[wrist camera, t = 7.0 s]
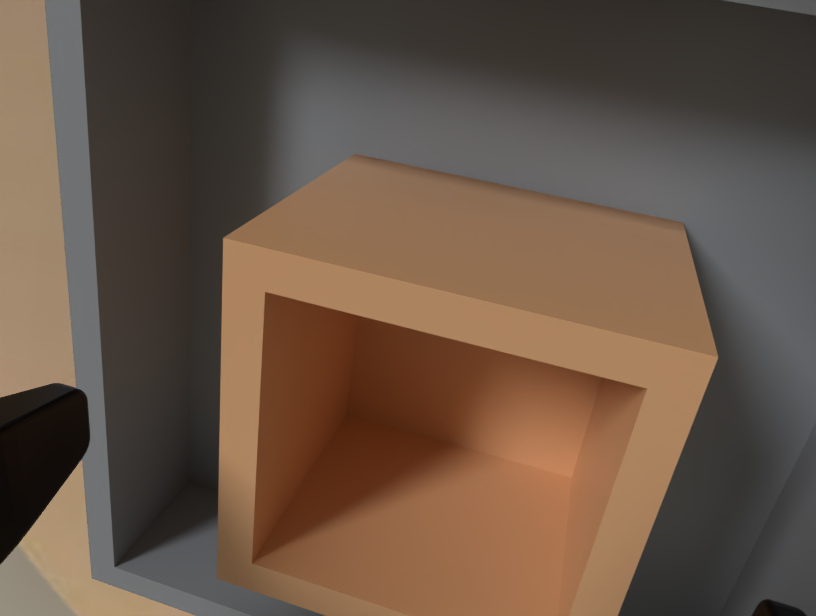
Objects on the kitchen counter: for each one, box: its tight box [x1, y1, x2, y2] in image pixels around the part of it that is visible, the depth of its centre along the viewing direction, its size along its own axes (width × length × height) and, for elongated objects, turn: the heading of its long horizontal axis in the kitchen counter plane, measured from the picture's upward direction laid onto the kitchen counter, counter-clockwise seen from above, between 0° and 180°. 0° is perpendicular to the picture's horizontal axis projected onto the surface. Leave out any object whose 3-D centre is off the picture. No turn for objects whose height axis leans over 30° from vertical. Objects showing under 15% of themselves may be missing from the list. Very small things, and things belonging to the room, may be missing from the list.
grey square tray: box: [45, 0, 816, 616], centre depth 13 cm, size 14×14×4 cm
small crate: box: [217, 154, 718, 616], centre depth 12 cm, size 6×6×5 cm
